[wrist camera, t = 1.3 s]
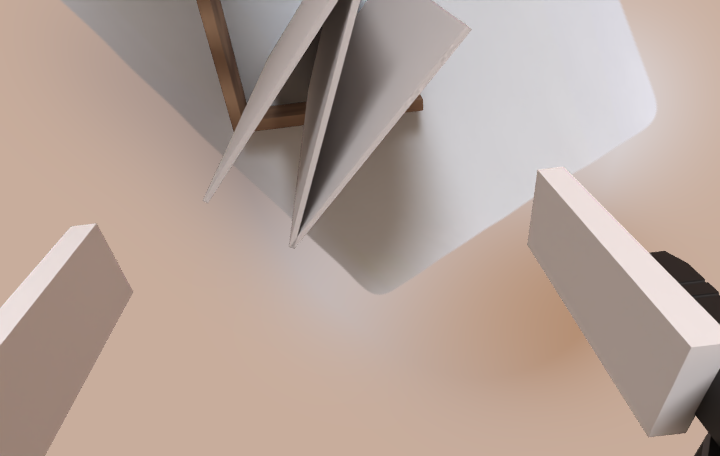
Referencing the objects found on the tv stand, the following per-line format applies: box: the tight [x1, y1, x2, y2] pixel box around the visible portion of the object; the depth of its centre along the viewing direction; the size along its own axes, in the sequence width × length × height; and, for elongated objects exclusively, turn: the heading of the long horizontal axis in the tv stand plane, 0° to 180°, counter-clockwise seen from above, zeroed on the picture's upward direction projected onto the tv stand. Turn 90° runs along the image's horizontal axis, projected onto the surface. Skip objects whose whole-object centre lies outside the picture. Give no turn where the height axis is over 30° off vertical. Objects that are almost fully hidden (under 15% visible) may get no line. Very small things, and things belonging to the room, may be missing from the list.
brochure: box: [203, 0, 472, 248], centre depth 33 cm, size 14×6×30 cm, turn 143°
